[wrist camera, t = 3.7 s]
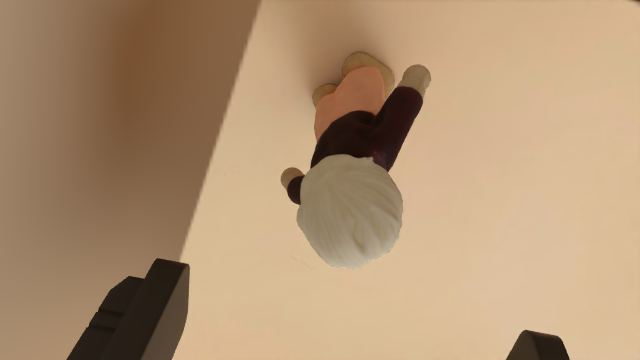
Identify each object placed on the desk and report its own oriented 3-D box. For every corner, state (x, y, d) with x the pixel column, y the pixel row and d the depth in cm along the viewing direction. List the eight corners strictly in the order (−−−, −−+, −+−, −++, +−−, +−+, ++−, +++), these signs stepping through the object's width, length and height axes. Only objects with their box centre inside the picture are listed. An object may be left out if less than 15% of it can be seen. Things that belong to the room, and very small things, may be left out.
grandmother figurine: (346, 160, 28) (331, 345, 17) (286, 122, 27) (230, 292, 16) (440, 45, 24) (496, 187, 13) (374, -2, 23) (378, 108, 12)
